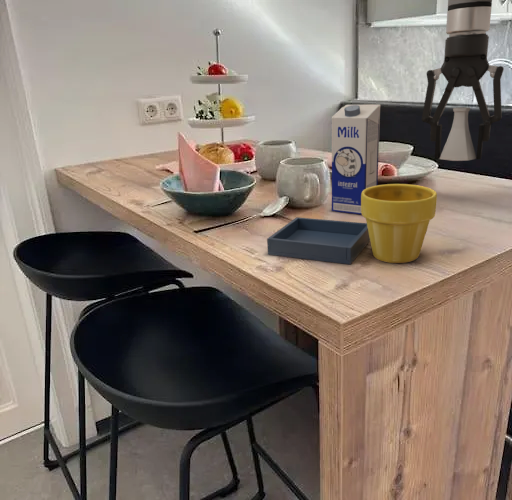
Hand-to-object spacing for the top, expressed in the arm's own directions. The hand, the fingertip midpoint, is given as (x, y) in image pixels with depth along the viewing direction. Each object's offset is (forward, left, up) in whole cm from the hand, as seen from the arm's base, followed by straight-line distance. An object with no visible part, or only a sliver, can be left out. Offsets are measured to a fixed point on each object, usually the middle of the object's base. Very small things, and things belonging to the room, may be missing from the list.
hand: (457, 157), depth 101 cm
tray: (+16, +37, -8) cm, 41 cm away
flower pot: (+4, +37, -9) cm, 39 cm away
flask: (0, 0, 0) cm, 0 cm away
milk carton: (+17, +14, -8) cm, 24 cm away
